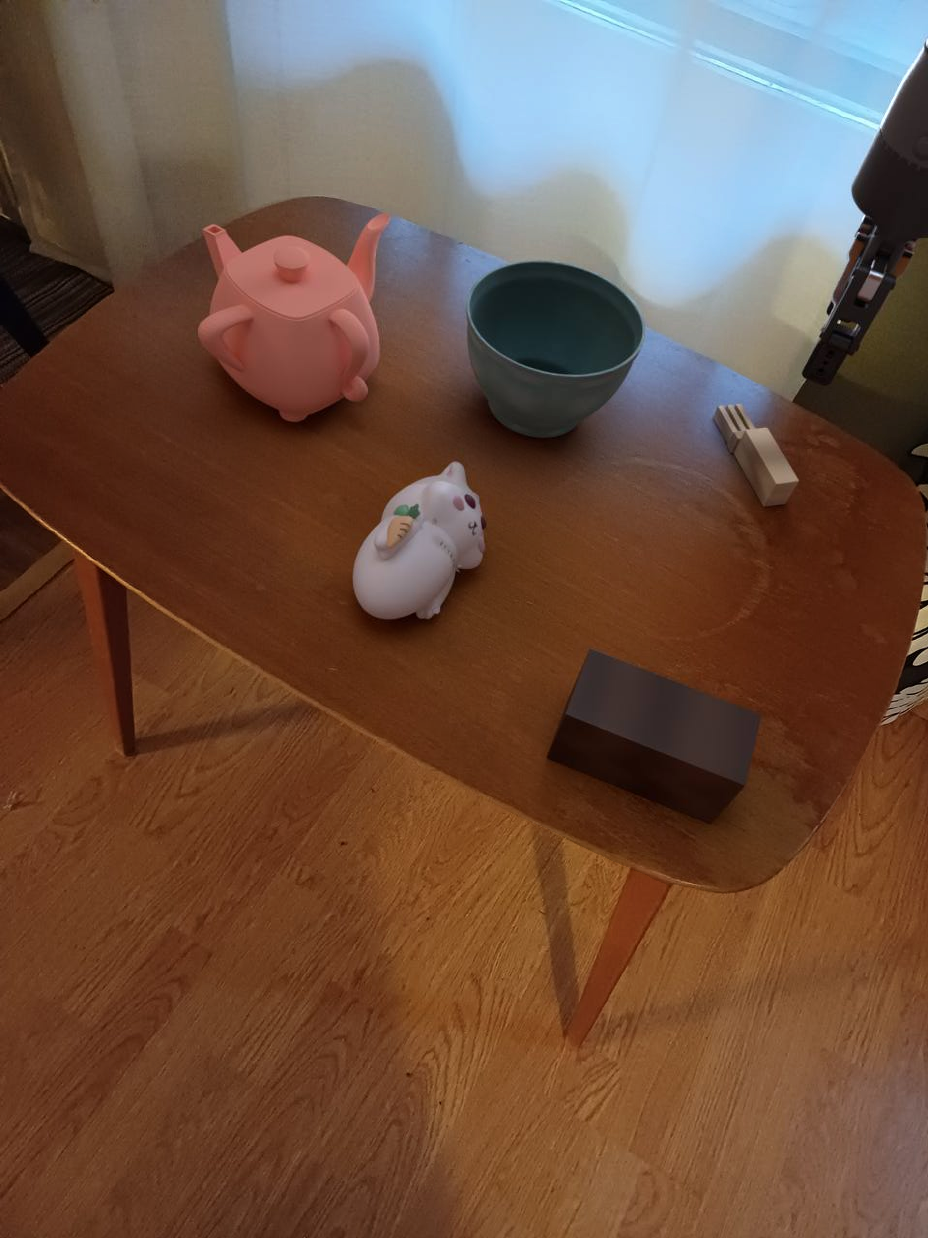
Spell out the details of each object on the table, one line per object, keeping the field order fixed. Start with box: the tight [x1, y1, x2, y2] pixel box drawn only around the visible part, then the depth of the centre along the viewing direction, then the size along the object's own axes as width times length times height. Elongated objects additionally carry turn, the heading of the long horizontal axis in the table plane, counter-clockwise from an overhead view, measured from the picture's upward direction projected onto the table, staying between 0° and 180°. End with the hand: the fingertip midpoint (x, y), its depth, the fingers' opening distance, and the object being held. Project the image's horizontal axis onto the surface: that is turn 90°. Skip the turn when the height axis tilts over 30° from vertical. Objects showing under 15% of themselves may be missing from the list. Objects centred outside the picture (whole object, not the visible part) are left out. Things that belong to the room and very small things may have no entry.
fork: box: [712, 403, 800, 508], centre depth 89 cm, size 12×3×3 cm, turn 15°
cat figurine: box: [352, 461, 487, 620], centre depth 75 cm, size 10×8×15 cm
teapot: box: [197, 212, 391, 423], centre depth 84 cm, size 16×17×14 cm
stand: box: [546, 647, 762, 825], centre depth 68 cm, size 13×6×7 cm, turn 69°
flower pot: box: [465, 259, 647, 439], centre depth 87 cm, size 16×16×11 cm
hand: (827, 346), depth 71 cm, fingers open, 8 cm apart
